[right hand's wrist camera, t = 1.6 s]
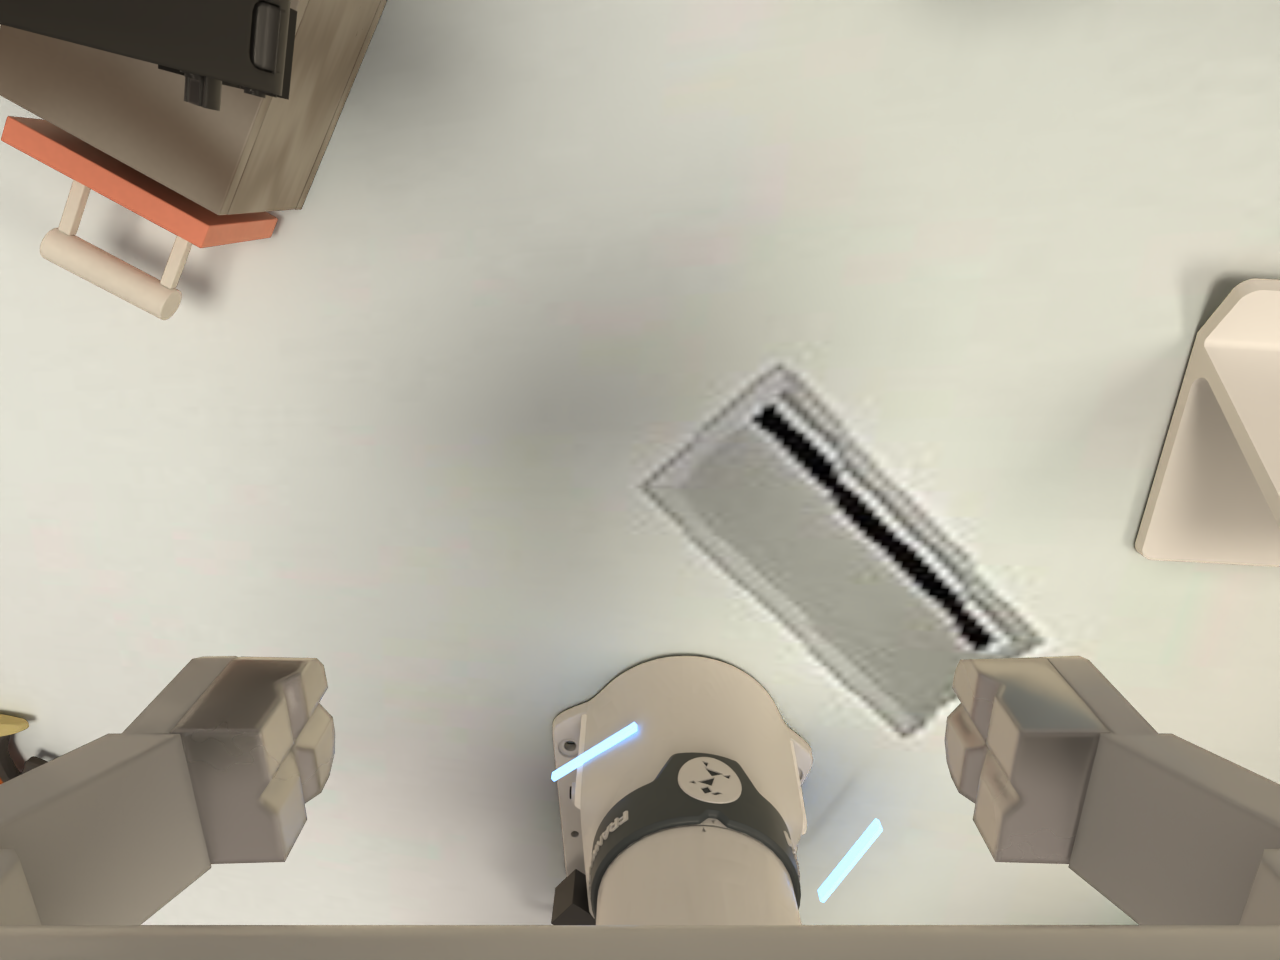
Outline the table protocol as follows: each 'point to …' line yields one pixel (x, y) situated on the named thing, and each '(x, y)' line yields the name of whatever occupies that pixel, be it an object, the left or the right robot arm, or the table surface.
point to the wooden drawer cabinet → (200, 109)
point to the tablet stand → (1223, 442)
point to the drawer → (135, 195)
